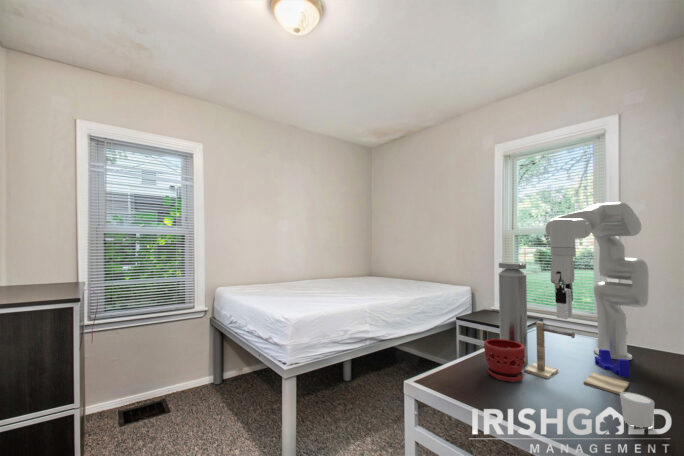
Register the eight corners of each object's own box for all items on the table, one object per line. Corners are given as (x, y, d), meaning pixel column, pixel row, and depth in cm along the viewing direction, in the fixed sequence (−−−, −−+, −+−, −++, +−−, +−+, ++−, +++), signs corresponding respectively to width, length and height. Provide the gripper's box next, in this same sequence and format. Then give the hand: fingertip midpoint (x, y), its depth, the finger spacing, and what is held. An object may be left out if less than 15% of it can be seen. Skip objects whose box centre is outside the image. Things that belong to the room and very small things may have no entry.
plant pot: (529, 376, 114) (528, 342, 115) (519, 388, 105) (518, 351, 105) (491, 366, 123) (491, 335, 124) (479, 376, 114) (478, 343, 114)
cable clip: (595, 363, 127) (594, 348, 127) (607, 364, 126) (607, 349, 126) (615, 376, 115) (615, 359, 115) (629, 377, 114) (629, 360, 114)
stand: (534, 365, 124) (533, 318, 125) (579, 377, 113) (578, 325, 114) (524, 371, 118) (523, 322, 119) (570, 385, 107) (569, 330, 108)
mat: (592, 374, 116) (592, 372, 116) (629, 384, 108) (629, 382, 108) (583, 384, 108) (583, 381, 108) (622, 395, 100) (621, 392, 100)
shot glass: (613, 417, 87) (613, 392, 88) (636, 416, 88) (635, 391, 88) (639, 432, 81) (638, 404, 81) (663, 431, 81) (662, 403, 82)
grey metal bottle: (527, 368, 122) (525, 264, 123) (498, 362, 127) (497, 263, 129) (528, 359, 130) (526, 263, 132) (501, 354, 136) (499, 262, 137)
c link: (562, 315, 117) (561, 288, 117) (572, 316, 114) (571, 289, 115) (556, 317, 113) (556, 289, 113) (566, 319, 111) (565, 290, 111)
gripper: (559, 251, 123) (560, 297, 122) (542, 252, 112) (543, 303, 112) (582, 252, 117) (584, 300, 116) (567, 253, 106) (568, 307, 106)
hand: (564, 301), depth 114 cm, fingers closed on c link, 6 cm apart
